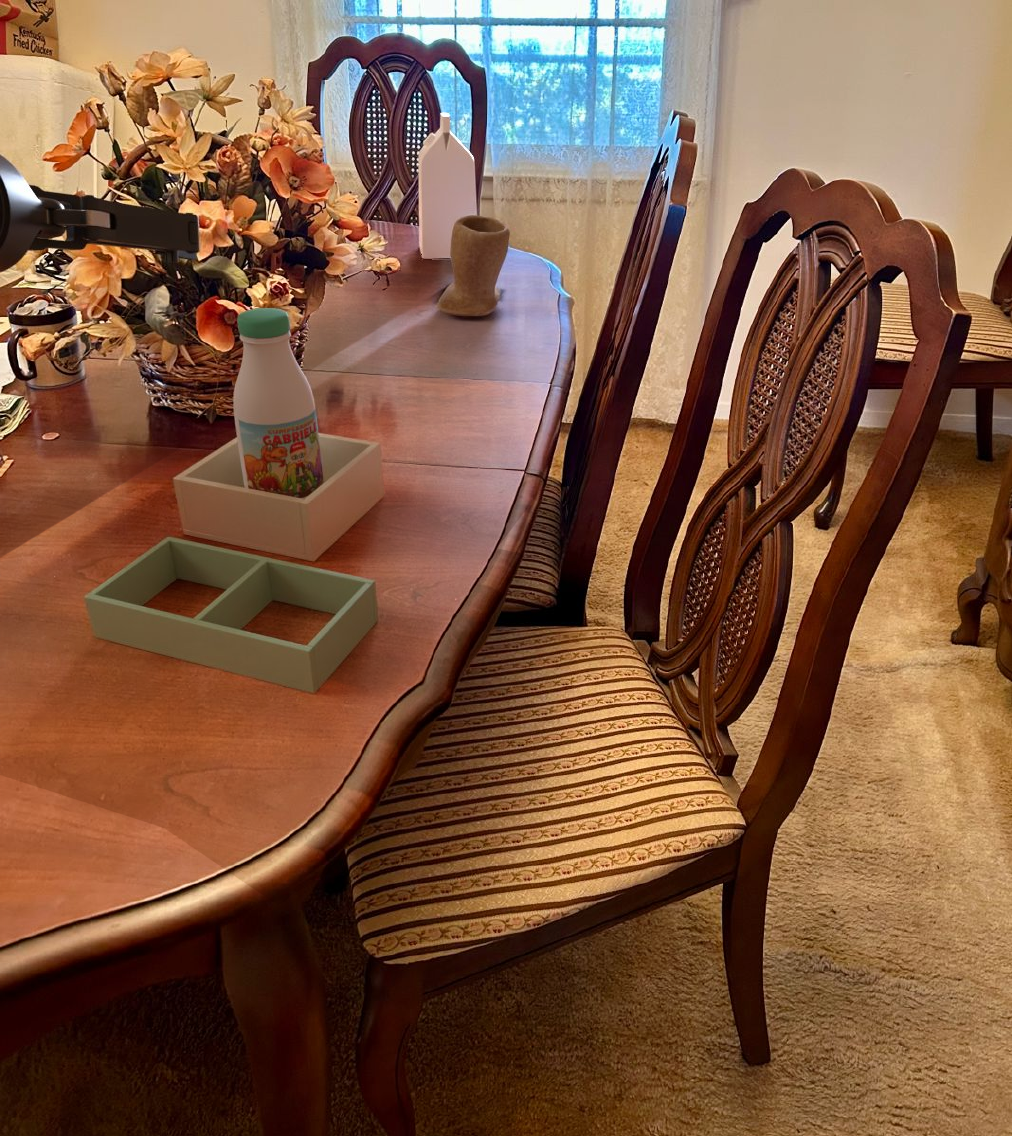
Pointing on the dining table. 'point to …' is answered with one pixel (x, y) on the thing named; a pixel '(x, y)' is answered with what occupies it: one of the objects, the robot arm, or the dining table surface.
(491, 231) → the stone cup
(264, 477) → the milk bottle
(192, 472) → the cream square box
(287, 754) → the dining table surface
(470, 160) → the milk
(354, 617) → the green divided tray
